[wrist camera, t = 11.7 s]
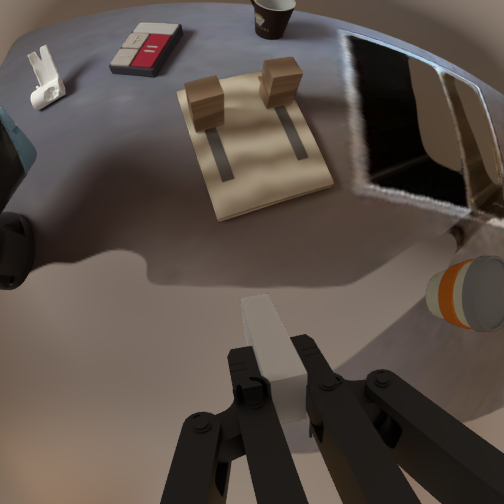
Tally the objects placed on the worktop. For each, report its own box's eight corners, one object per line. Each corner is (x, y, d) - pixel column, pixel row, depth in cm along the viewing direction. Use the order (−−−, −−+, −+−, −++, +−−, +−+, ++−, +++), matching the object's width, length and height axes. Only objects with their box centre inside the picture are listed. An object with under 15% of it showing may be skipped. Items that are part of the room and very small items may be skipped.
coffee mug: (292, 42, 53) (300, 11, 43) (254, 43, 52) (258, 11, 42) (279, 14, 54) (285, -15, 44) (244, 15, 54) (247, -15, 44)
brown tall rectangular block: (224, 124, 47) (224, 93, 38) (195, 132, 46) (190, 102, 37) (217, 107, 47) (216, 75, 38) (190, 115, 46) (184, 83, 38)
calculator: (106, 65, 46) (138, 19, 47) (112, 76, 50) (142, 31, 51) (151, 68, 46) (181, 21, 48) (156, 80, 51) (183, 34, 52)
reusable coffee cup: (444, 250, 50) (496, 238, 35) (469, 297, 49) (520, 296, 34) (408, 291, 48) (462, 290, 33) (436, 339, 47) (489, 349, 33)
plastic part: (39, 113, 47) (14, 87, 35) (39, 85, 48) (18, 59, 36) (66, 97, 48) (43, 68, 36) (64, 70, 49) (45, 42, 37)
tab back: (292, 103, 48) (303, 73, 39) (266, 109, 48) (273, 77, 39) (283, 87, 49) (292, 56, 40) (258, 92, 48) (264, 60, 39)
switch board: (330, 187, 49) (334, 183, 47) (218, 222, 47) (217, 219, 45) (276, 74, 51) (277, 68, 49) (178, 97, 49) (176, 91, 47)
